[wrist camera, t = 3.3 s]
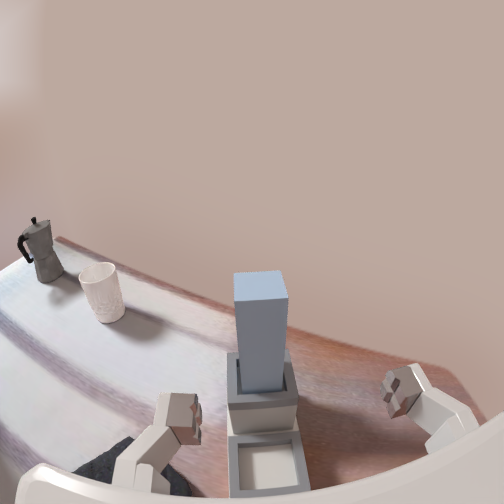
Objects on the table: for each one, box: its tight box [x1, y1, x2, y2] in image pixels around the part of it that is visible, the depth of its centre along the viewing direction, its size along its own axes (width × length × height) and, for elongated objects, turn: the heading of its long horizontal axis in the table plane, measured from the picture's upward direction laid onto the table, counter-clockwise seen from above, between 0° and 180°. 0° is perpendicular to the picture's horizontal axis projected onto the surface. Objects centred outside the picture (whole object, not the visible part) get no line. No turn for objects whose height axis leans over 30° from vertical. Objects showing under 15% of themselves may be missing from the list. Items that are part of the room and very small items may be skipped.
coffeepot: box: [17, 217, 64, 283], centre depth 60 cm, size 15×9×18 cm, turn 0°
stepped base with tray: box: [227, 349, 311, 498], centre depth 26 cm, size 16×8×10 cm, turn 4°
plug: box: [234, 271, 288, 395], centre depth 25 cm, size 5×4×13 cm
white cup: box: [79, 262, 125, 323], centre depth 49 cm, size 8×8×10 cm
